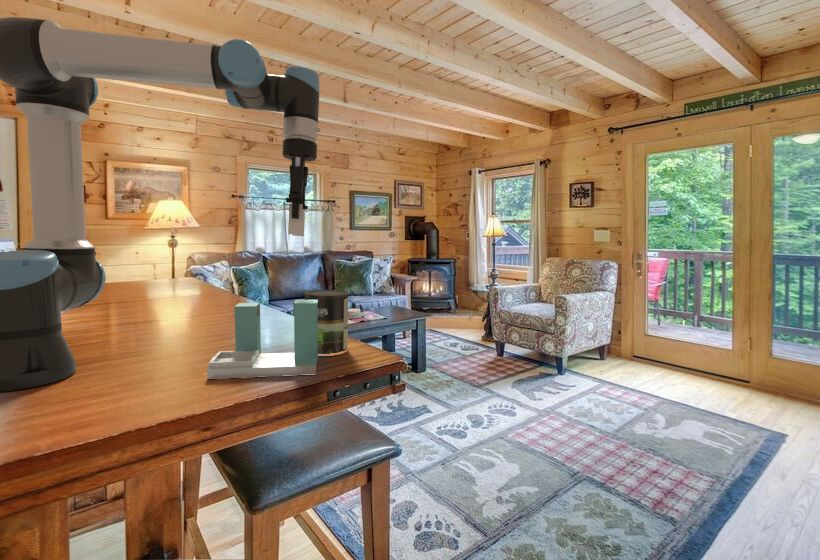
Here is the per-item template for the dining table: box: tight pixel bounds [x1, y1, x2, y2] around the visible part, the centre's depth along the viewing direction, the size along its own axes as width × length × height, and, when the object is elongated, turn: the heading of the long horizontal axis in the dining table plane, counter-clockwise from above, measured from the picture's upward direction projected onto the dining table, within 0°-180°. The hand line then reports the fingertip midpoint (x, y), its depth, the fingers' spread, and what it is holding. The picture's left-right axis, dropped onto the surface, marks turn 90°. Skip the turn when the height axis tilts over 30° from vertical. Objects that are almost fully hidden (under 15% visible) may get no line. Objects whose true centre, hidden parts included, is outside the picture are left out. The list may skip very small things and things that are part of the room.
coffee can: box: [303, 289, 350, 354], centre depth 102 cm, size 10×10×14 cm
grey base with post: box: [206, 299, 319, 380], centre depth 87 cm, size 20×10×14 cm, turn 101°
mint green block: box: [234, 302, 262, 354], centre depth 95 cm, size 4×4×12 cm
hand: (296, 235), depth 99 cm, fingers open, 13 cm apart
